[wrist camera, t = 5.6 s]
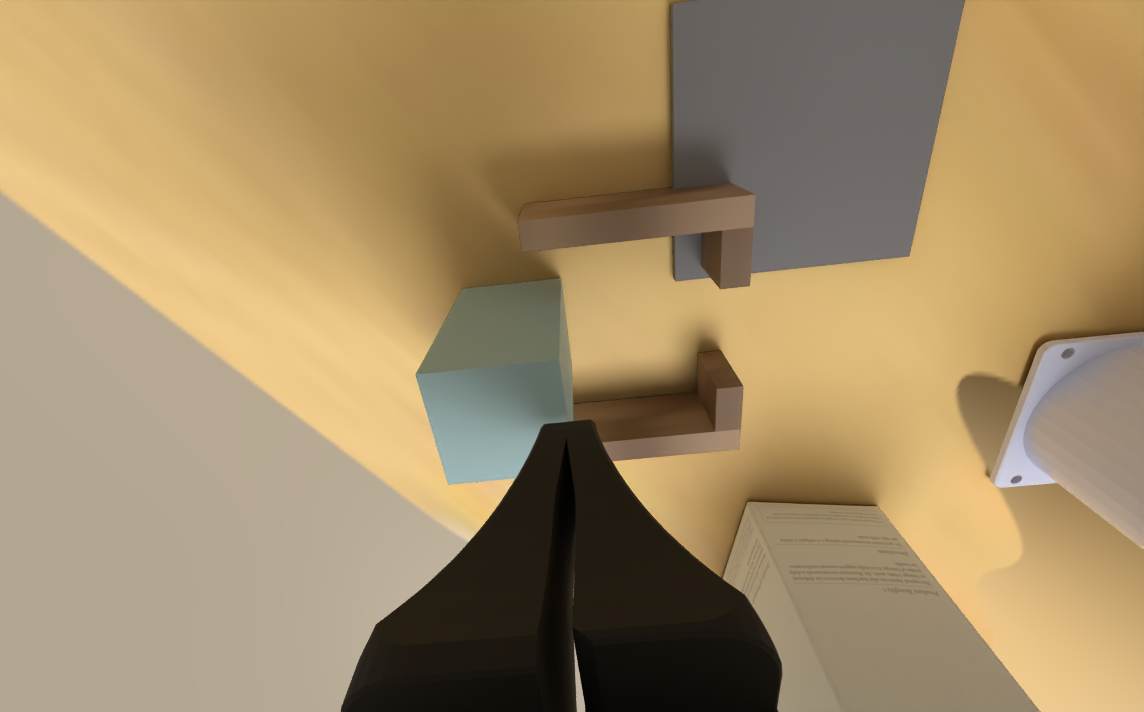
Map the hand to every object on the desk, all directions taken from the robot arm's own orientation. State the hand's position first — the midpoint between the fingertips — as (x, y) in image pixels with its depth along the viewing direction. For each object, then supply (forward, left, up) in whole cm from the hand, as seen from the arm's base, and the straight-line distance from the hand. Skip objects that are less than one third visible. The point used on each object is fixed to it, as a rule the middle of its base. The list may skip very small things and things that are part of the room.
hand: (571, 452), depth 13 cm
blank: (+2, 0, -8) cm, 9 cm away
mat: (-9, -6, -8) cm, 14 cm away
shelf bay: (-2, 0, -8) cm, 9 cm away
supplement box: (-11, +15, -9) cm, 20 cm away
